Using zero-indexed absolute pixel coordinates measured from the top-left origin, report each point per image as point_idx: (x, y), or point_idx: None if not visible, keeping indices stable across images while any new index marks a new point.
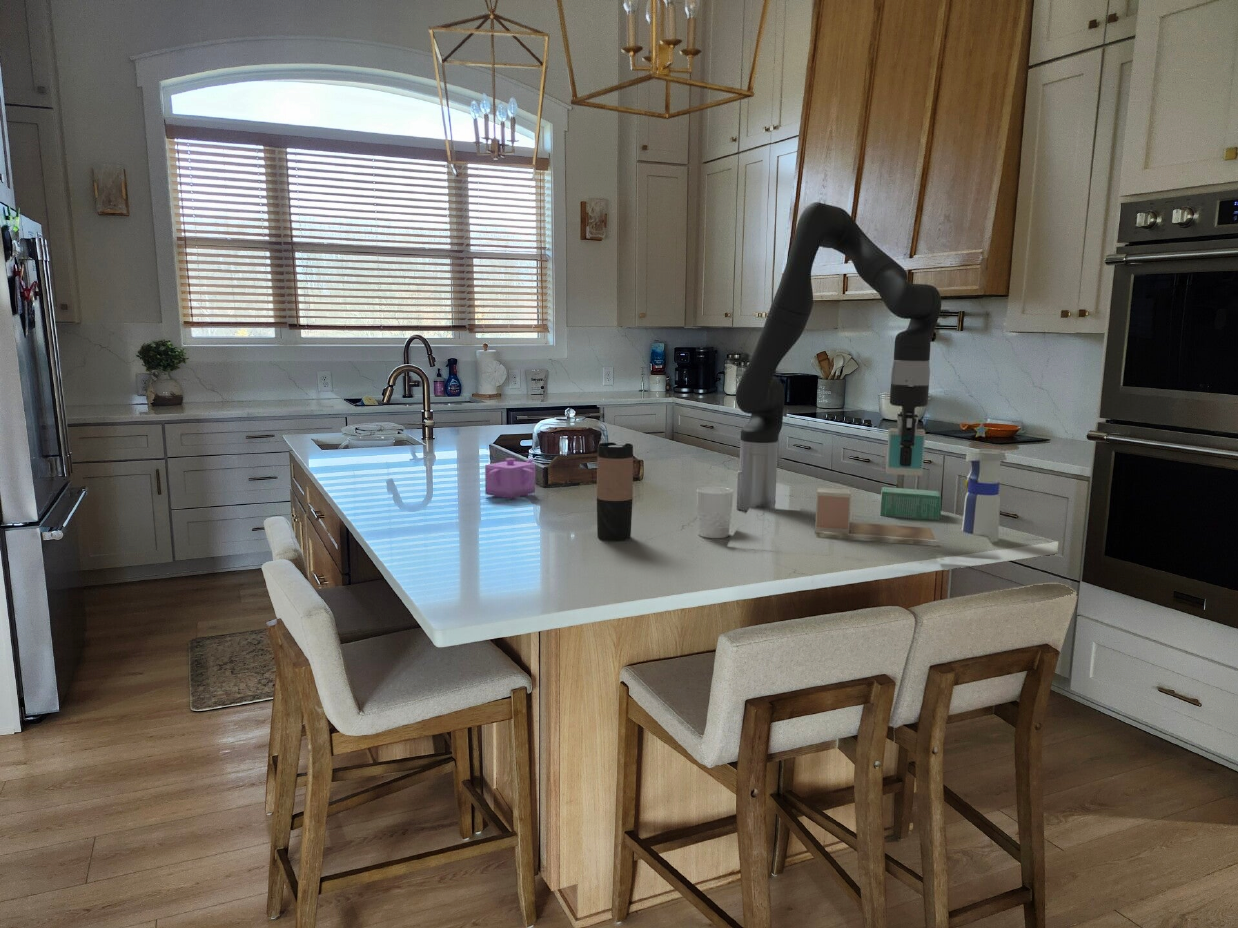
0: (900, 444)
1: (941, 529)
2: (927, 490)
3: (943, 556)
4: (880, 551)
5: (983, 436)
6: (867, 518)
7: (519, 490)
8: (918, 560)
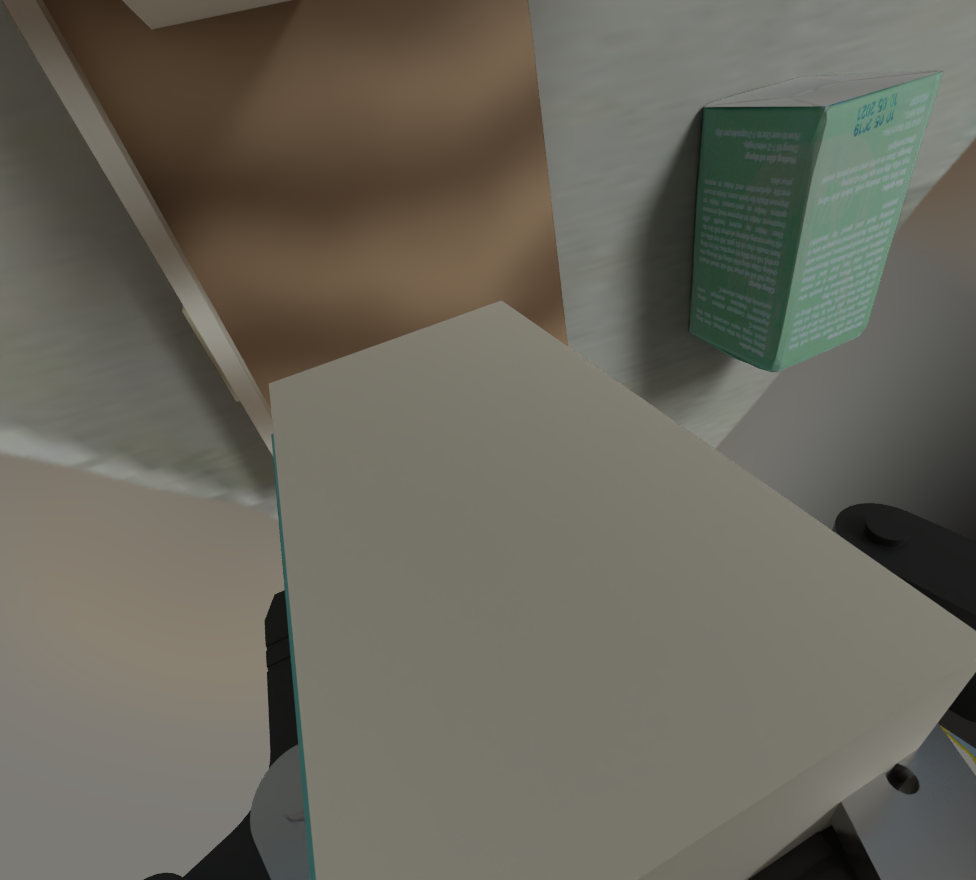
0: (280, 811)
1: (642, 356)
2: (867, 299)
3: (250, 487)
4: (107, 268)
5: (942, 728)
6: (747, 28)
7: None
8: (93, 450)
